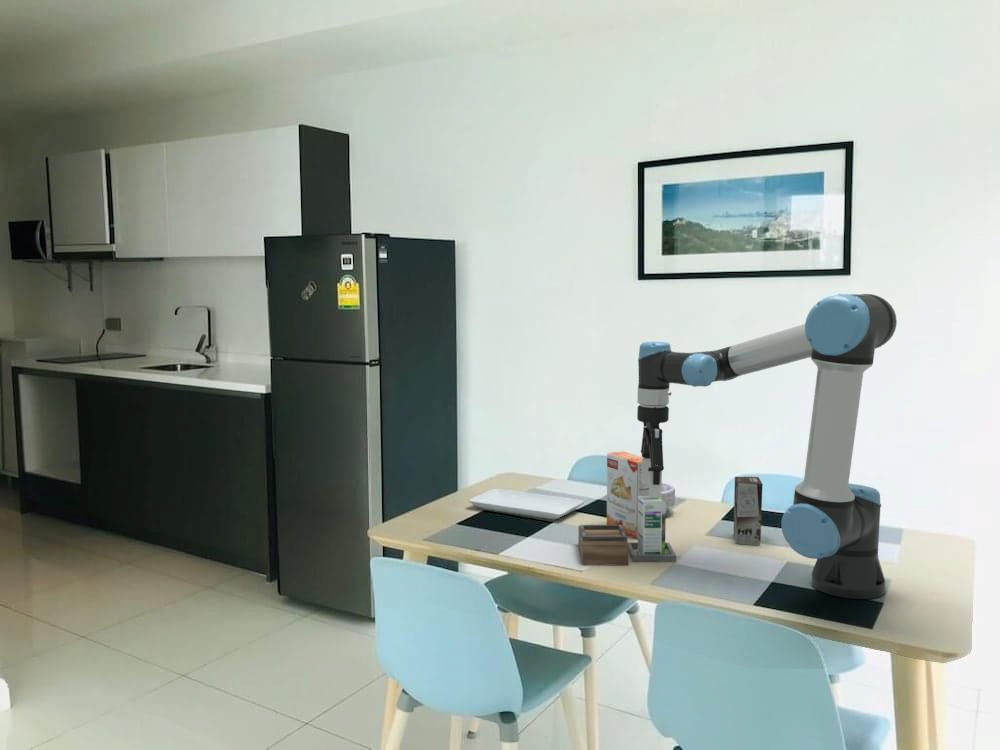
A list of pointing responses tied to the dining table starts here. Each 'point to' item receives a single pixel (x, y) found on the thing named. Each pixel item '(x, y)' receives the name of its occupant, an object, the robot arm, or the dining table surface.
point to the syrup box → (651, 525)
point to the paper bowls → (668, 494)
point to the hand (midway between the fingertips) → (650, 490)
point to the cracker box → (624, 490)
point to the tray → (526, 503)
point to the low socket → (651, 558)
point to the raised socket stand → (603, 544)
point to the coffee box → (747, 510)
